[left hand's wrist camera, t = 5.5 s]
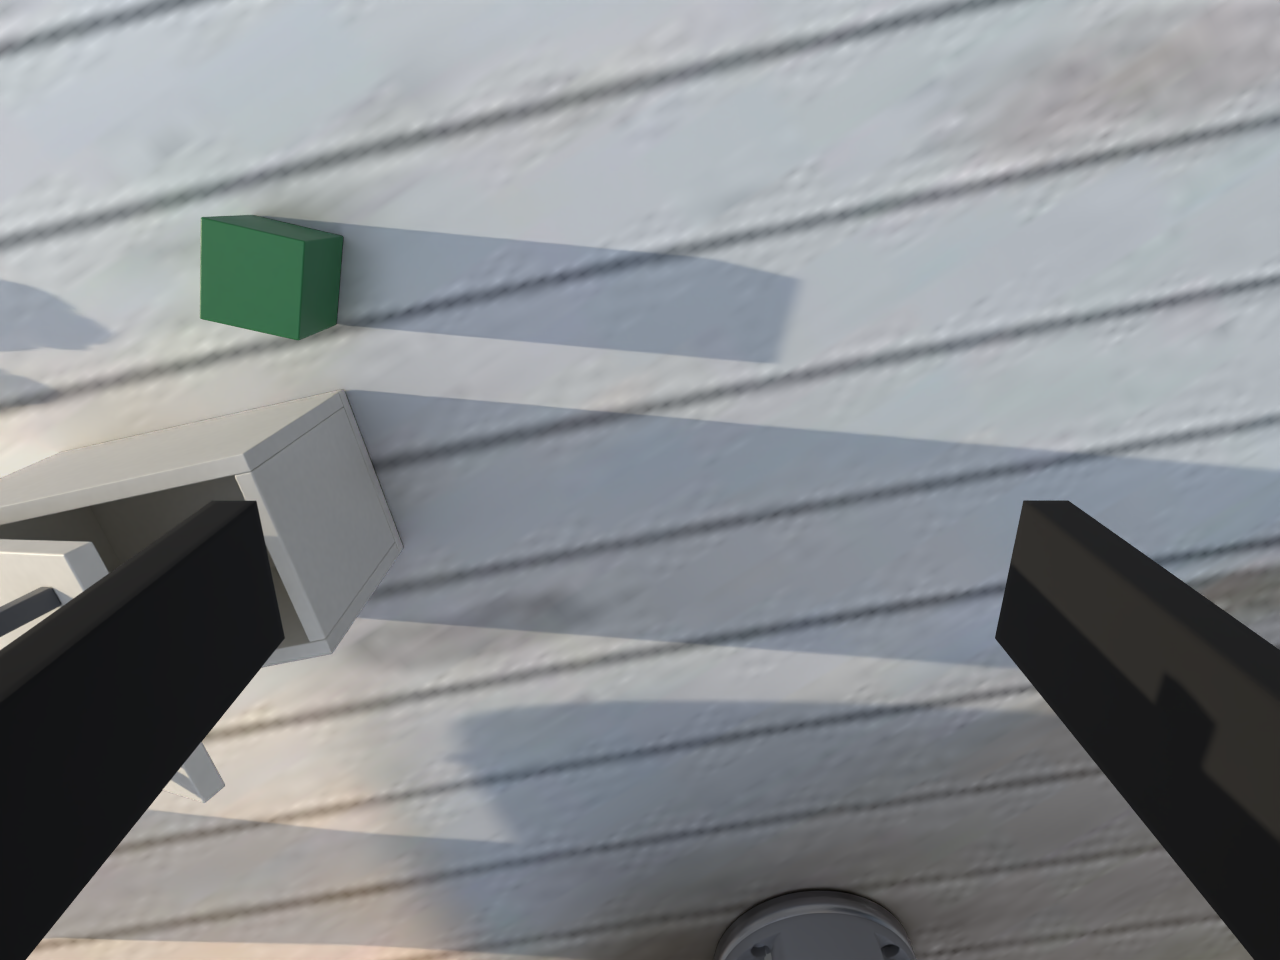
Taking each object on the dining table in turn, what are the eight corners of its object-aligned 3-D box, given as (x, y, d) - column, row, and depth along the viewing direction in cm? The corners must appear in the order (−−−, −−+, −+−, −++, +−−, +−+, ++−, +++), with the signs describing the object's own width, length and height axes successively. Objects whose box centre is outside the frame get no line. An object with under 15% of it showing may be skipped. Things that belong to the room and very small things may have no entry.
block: (343, 236, 37) (304, 240, 33) (336, 324, 39) (298, 341, 35) (251, 214, 37) (200, 216, 33) (248, 305, 39) (199, 319, 34)
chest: (344, 388, 40) (243, 453, 30) (404, 548, 44) (332, 654, 34) (59, 452, 42) (-130, 534, 31) (140, 601, 45) (-7, 719, 35)
